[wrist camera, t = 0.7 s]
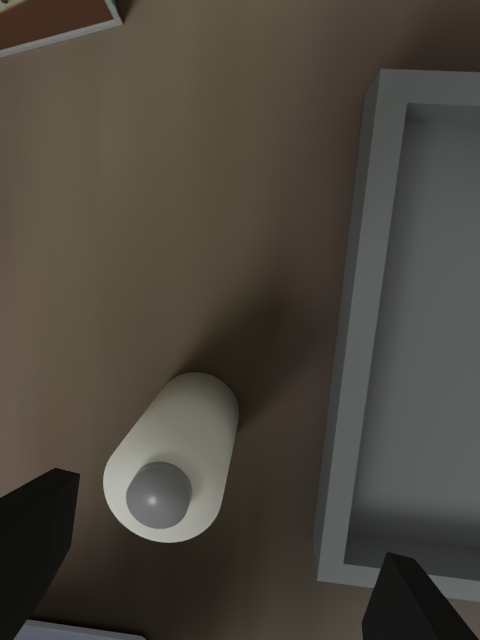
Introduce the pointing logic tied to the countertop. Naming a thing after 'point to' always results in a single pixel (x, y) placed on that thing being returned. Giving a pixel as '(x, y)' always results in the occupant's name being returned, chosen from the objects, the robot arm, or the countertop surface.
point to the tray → (408, 343)
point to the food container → (52, 21)
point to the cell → (175, 460)
